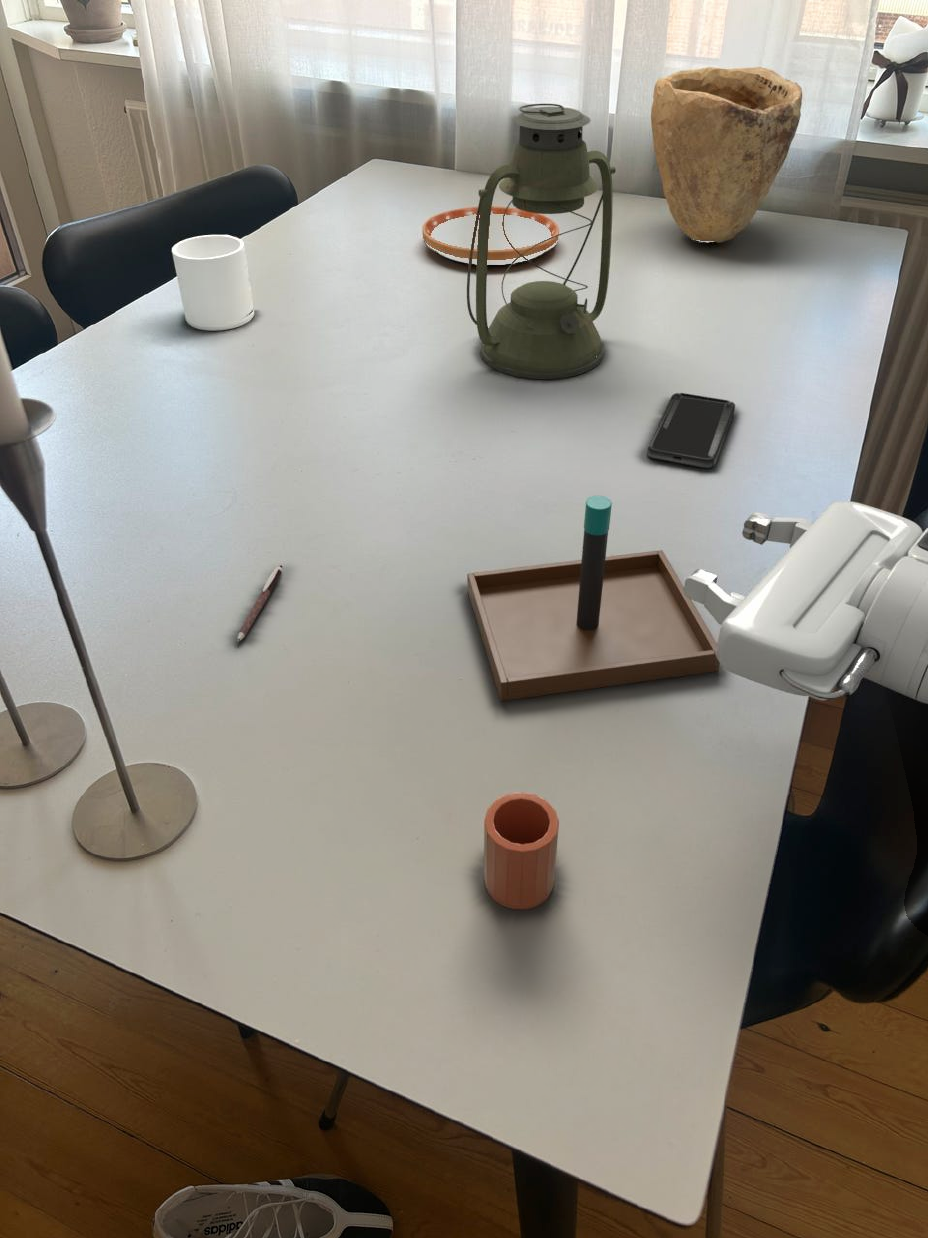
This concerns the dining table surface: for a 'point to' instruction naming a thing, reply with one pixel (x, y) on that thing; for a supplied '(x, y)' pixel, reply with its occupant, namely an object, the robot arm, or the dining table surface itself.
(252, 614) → the pen
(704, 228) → the rough clay pot
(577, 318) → the lantern
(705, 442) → the phone
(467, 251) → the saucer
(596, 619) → the marker
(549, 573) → the tray
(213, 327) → the mug
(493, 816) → the pen cup
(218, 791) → the dining table surface
